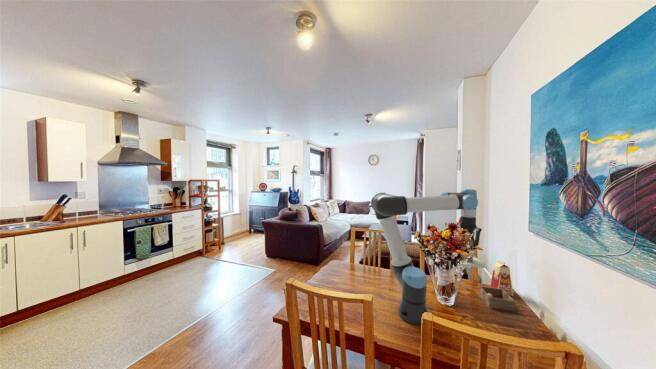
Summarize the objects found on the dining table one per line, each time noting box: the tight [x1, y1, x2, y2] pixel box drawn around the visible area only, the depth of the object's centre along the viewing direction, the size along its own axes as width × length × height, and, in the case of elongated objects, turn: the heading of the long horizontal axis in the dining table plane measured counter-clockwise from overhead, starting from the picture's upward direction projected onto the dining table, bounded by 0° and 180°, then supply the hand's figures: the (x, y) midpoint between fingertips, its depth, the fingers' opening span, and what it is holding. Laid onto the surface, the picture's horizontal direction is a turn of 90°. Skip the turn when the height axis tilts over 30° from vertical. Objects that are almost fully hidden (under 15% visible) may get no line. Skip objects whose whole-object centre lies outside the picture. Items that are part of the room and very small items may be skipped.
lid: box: [457, 240, 486, 269], centre depth 130 cm, size 15×13×13 cm
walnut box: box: [478, 285, 516, 312], centre depth 129 cm, size 14×12×6 cm
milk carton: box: [489, 260, 514, 297], centre depth 141 cm, size 9×9×20 cm
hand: (467, 256), depth 130 cm, fingers closed on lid, 3 cm apart
